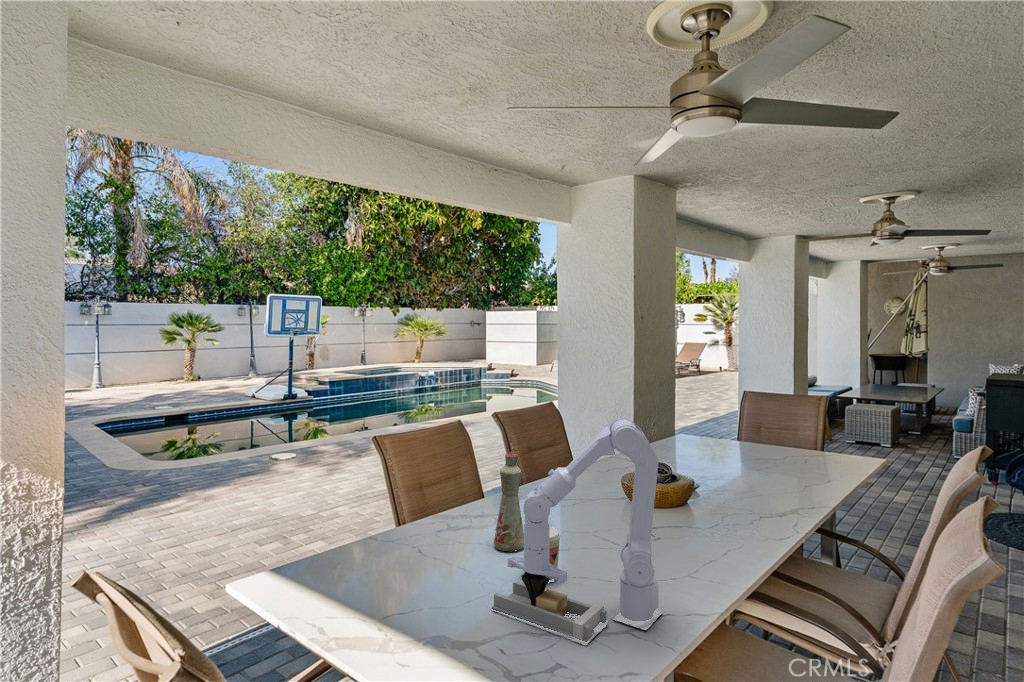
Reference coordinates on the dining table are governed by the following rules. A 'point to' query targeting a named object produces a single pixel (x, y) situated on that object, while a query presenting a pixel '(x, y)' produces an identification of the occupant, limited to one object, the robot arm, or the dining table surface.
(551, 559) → the coffee cup
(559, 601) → the keeper
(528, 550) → the robot arm
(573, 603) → the channel
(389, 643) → the dining table surface
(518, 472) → the bottle
